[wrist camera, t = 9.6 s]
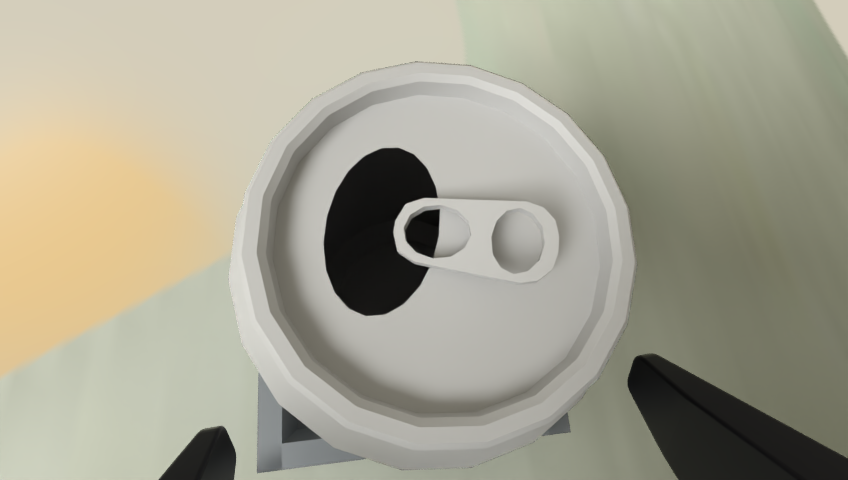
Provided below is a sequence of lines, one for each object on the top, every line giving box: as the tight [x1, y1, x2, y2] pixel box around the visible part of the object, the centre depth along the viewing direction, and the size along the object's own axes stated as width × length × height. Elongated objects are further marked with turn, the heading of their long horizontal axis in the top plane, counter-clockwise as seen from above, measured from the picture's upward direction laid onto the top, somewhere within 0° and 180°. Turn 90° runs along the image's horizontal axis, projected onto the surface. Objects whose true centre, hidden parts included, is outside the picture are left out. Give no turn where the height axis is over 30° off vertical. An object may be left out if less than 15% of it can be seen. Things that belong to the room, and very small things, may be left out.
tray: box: [257, 373, 571, 473], centre depth 16 cm, size 11×11×3 cm
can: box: [228, 61, 637, 470], centre depth 12 cm, size 8×8×12 cm
